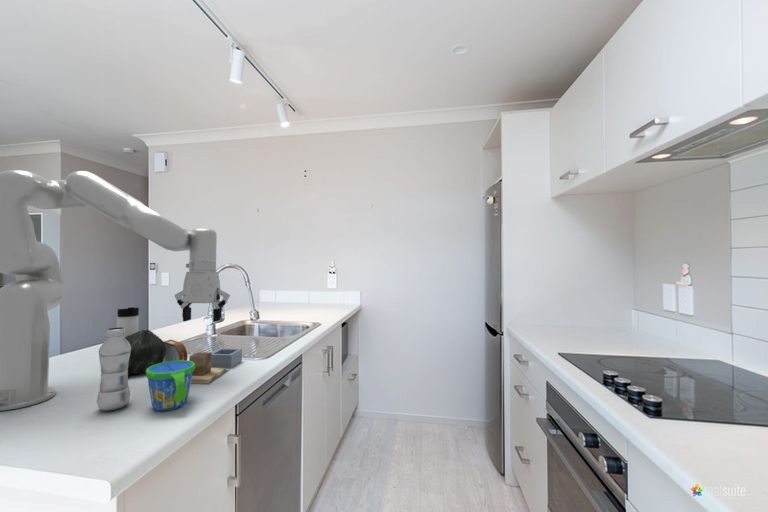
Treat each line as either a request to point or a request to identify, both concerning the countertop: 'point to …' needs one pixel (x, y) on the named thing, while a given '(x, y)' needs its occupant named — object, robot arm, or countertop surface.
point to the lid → (204, 368)
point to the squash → (144, 351)
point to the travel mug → (128, 320)
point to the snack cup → (169, 384)
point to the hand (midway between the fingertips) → (202, 320)
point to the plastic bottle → (114, 370)
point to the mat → (213, 379)
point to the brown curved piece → (175, 351)
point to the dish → (226, 358)
